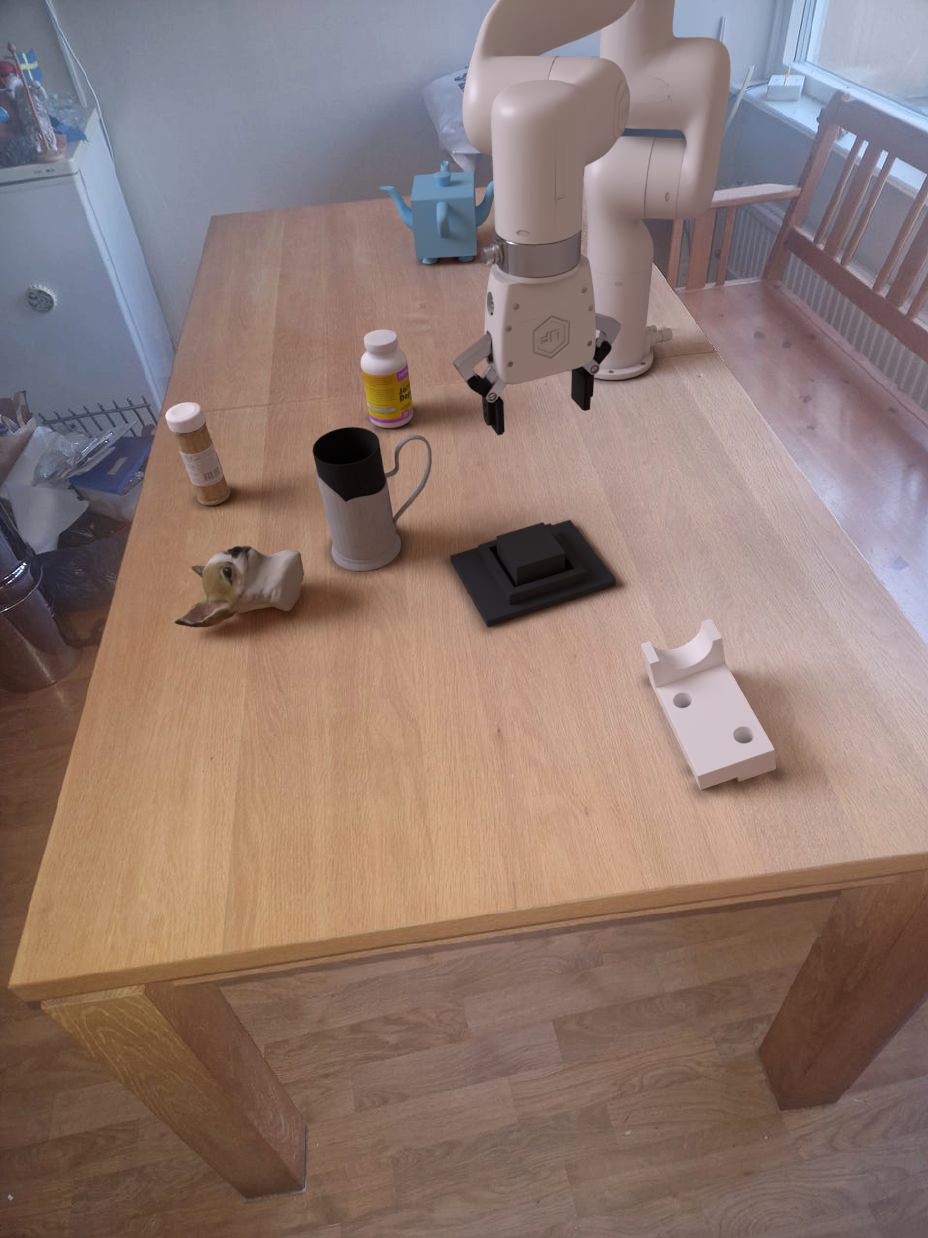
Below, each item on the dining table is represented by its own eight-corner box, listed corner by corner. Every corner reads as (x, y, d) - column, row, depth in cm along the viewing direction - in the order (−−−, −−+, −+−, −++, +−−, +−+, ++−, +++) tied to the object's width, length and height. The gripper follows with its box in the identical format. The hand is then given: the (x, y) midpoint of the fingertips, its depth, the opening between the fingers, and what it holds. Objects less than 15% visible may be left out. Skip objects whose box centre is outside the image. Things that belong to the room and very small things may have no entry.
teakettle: (446, 279, 153) (440, 197, 142) (383, 255, 163) (373, 176, 152) (514, 247, 161) (512, 167, 151) (449, 226, 171) (444, 150, 161)
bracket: (651, 688, 83) (640, 644, 77) (717, 664, 82) (710, 618, 76) (701, 794, 74) (692, 754, 68) (776, 769, 73) (773, 725, 68)
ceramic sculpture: (289, 574, 84) (152, 589, 85) (311, 630, 90) (182, 644, 91) (301, 511, 91) (174, 526, 92) (320, 567, 97) (201, 581, 98)
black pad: (543, 544, 96) (543, 521, 94) (564, 575, 92) (565, 552, 90) (497, 558, 95) (496, 535, 93) (517, 590, 91) (516, 567, 89)
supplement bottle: (407, 431, 117) (396, 349, 108) (364, 428, 118) (350, 347, 109) (418, 406, 122) (409, 326, 112) (376, 404, 123) (364, 324, 114)
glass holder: (322, 537, 101) (297, 436, 91) (426, 505, 105) (414, 403, 94) (343, 579, 96) (319, 477, 85) (452, 544, 99) (442, 440, 88)
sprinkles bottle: (226, 483, 111) (196, 396, 101) (234, 500, 108) (205, 413, 98) (194, 493, 110) (161, 407, 100) (201, 511, 107) (168, 424, 97)
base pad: (569, 525, 100) (570, 509, 98) (615, 585, 92) (617, 569, 90) (450, 561, 97) (448, 545, 95) (487, 627, 89) (486, 611, 87)
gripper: (462, 287, 67) (474, 457, 79) (646, 243, 70) (630, 413, 82) (432, 254, 72) (448, 419, 84) (605, 214, 75) (596, 378, 87)
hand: (538, 415), depth 83 cm, fingers open, 9 cm apart
